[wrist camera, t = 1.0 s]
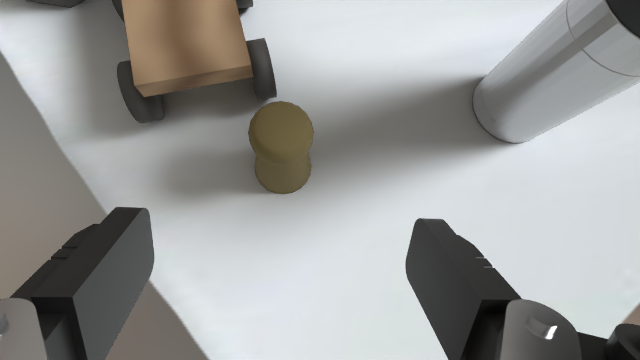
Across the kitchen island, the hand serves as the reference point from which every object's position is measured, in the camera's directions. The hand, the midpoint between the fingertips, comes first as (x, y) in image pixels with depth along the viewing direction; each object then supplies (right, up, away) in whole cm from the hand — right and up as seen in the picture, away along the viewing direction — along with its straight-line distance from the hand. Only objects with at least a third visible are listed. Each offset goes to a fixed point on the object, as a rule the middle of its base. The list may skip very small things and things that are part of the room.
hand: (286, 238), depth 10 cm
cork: (-3, +3, +26) cm, 27 cm away
